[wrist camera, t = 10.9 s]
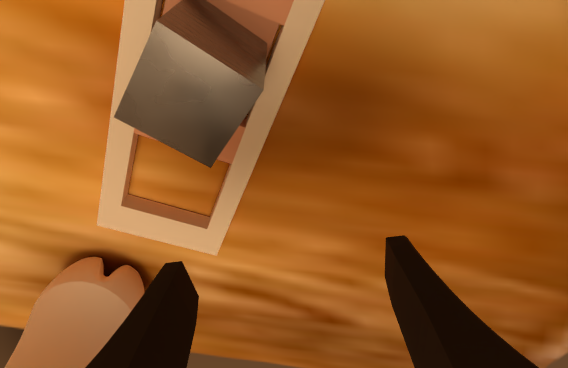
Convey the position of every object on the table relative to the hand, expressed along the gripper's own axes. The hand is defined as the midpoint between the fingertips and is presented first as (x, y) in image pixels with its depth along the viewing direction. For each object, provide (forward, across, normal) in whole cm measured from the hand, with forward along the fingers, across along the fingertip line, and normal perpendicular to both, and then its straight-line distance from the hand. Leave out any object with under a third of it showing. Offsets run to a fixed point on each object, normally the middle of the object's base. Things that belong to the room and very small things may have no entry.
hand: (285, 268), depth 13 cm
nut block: (+10, +3, -5) cm, 11 cm away
